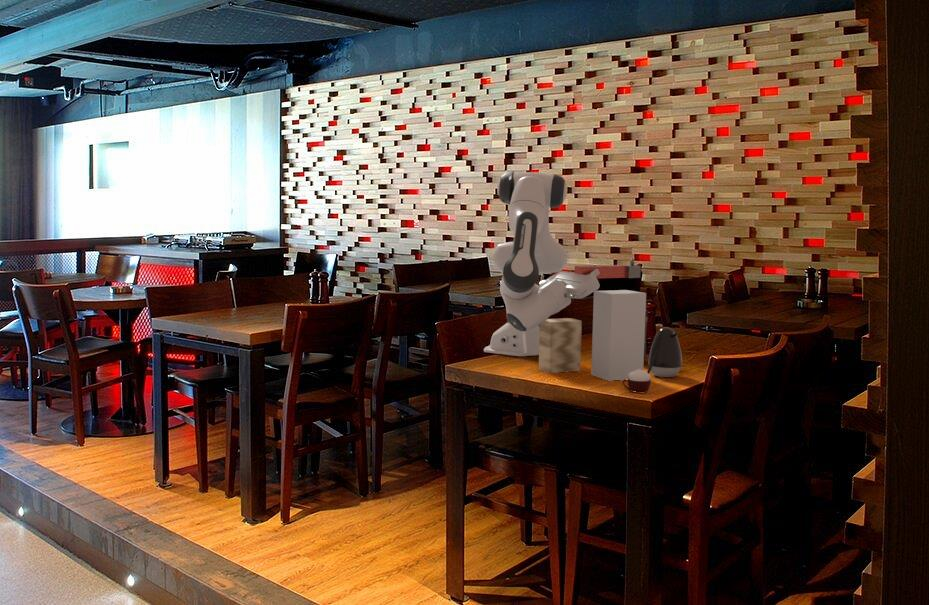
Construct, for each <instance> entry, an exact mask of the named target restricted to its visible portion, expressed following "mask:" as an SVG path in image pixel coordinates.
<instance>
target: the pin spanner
mask: <svg viewBox="0 0 929 605" xmlns="http://www.w3.org/2000/svg"><path fill="white" fill-rule="evenodd" d="M629 263H630V264H614V265H613V264H610V265H609V264H608V265H607V264H606V265H605V264H603V265H601V264H600V265H574V273H575V274H580V275H581V274H583V275H587V274H590V273H591V271H592V270H593V269H598V270H599V272H600V274H599V275H598V276H596V278H597V279H620V278H621V279H622V278H623V279H625V278H626V279H627V278H628V279H641V270H642V268H641V267H642V266H641V265H636V264H635V258H630V262H629Z"/></svg>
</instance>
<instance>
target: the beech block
mask: <svg viewBox="0 0 929 605" xmlns="http://www.w3.org/2000/svg"><path fill="white" fill-rule="evenodd" d="M582 324H583V321H582V320H580V319H576V318H573V317H572V318H571V317H569V318H568V317H562V318H548V319H547V320H546V321H544V322H543V323H541V324H540V338H539V355H538V370H539V369H540V370H539V371H541V370H543V371H542V372H544V371H545V373H547V372H548V373H547V374H549V373H550V374H559V373H558V372H564V373H570V372H569V371H577V372H581V362H582V360H581V358H582V356H581V355H582V331H583V330H582V328H583V326H582ZM567 371H568V372H567Z"/></svg>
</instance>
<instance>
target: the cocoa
mask: <svg viewBox="0 0 929 605" xmlns="http://www.w3.org/2000/svg"><path fill="white" fill-rule="evenodd" d="M658 351H659V350H658V349H657V350H656V352H655V354H654V356H653V359H652V361H651V364H650V366H649V365H648V369H647V371H646V370H644V369H643V370H641V369H637V370H635V371H632V372H630V373H628V380H626V379H625V380H622V385H623V386H624V387H625V388H626V389H627V390H629V391H631V390H632V391H636V392H645V391H646V392H648V391H649V389H650V387H651V383H652V382H651V379H652V378H651V377H652V375H651V368H652V366H653V363H654V361H655V359H656V356H657V354H658ZM625 382H627V384H628V386H627V385H626V384H625ZM632 391H631V392H632ZM646 392H645V393H646Z"/></svg>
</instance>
